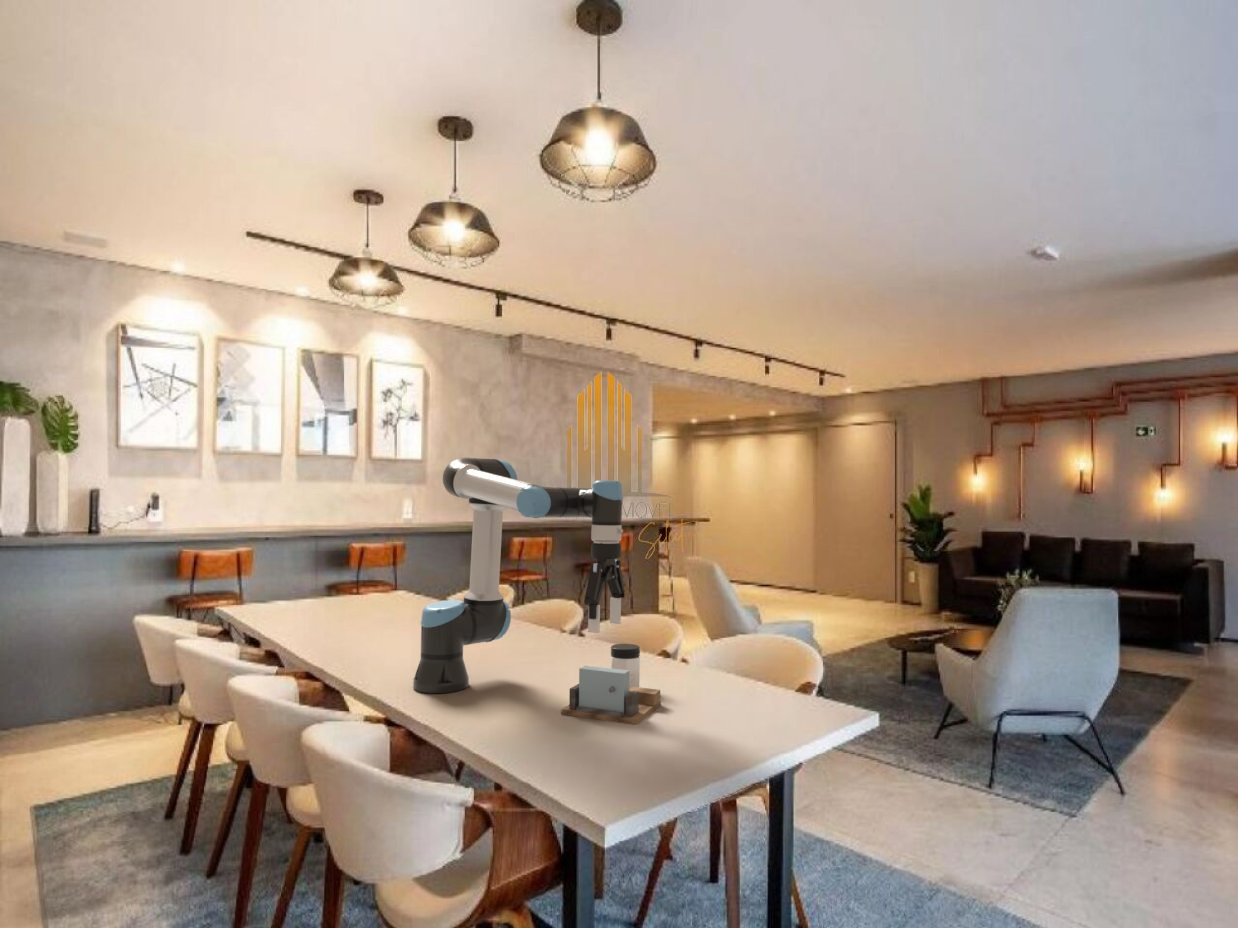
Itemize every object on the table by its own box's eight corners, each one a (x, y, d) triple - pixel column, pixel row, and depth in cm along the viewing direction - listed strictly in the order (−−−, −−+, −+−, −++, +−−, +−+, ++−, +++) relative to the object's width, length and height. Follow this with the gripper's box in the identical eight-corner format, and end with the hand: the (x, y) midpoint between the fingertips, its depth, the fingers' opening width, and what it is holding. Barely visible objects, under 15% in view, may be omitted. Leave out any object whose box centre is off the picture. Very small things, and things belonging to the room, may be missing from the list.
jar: (619, 695, 196) (620, 650, 197) (603, 688, 203) (604, 645, 204) (646, 690, 201) (646, 647, 202) (629, 684, 208) (630, 642, 208)
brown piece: (561, 714, 178) (561, 688, 179) (590, 695, 195) (591, 672, 195) (636, 724, 171) (637, 698, 171) (660, 704, 188) (661, 680, 188)
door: (576, 710, 178) (577, 669, 178) (584, 705, 182) (585, 665, 182) (622, 716, 173) (622, 674, 174) (628, 711, 177) (629, 670, 178)
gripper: (600, 545, 167) (598, 637, 166) (637, 540, 190) (636, 621, 189) (571, 544, 170) (569, 635, 169) (611, 538, 193) (610, 618, 192)
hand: (604, 627), depth 179 cm, fingers open, 13 cm apart
